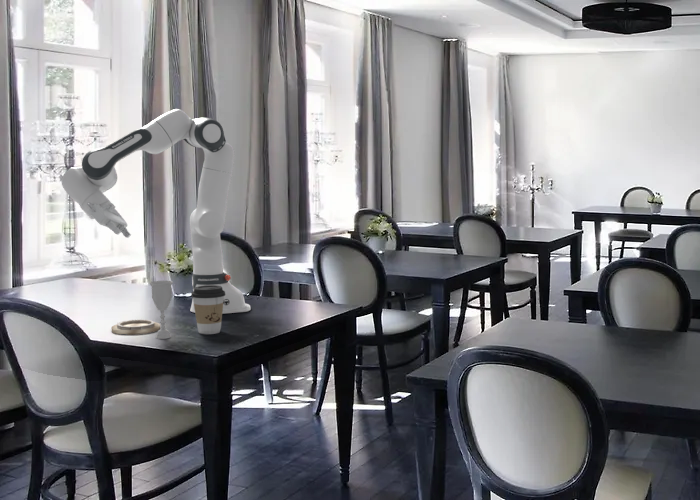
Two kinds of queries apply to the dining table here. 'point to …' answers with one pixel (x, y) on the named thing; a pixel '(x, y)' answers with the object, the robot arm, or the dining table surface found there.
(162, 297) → the chalice
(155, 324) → the beige ring base
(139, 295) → the dining table surface
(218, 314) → the coffee cup
